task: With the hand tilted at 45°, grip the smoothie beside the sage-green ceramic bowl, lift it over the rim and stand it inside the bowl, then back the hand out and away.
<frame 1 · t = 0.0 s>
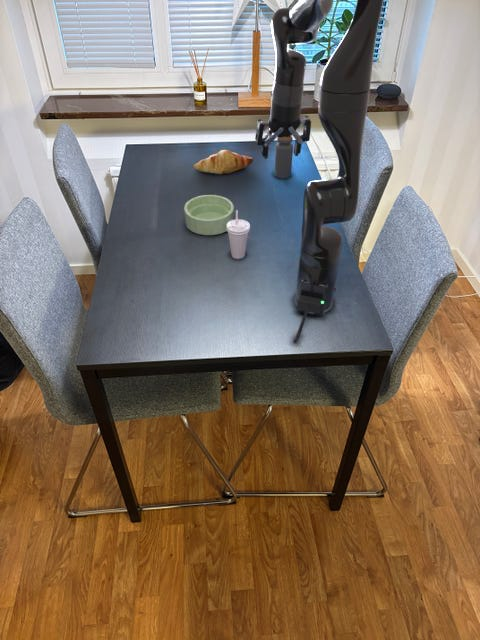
hand: (280, 155, 138), 22 cm above the table, tool pointing down, fingers open, 8 cm apart
bowl: (209, 223, 154), on the table
smoothie: (238, 255, 142), on the table
croissant: (223, 169, 180), on the table
bottle: (282, 175, 177), on the table
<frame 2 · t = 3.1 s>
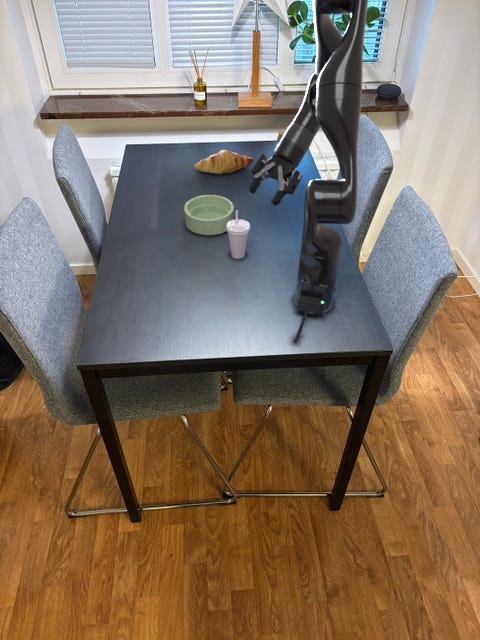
hand: (262, 198, 137), 14 cm above the table, tool tilted 45°, fingers open, 8 cm apart
nothing on the table moved.
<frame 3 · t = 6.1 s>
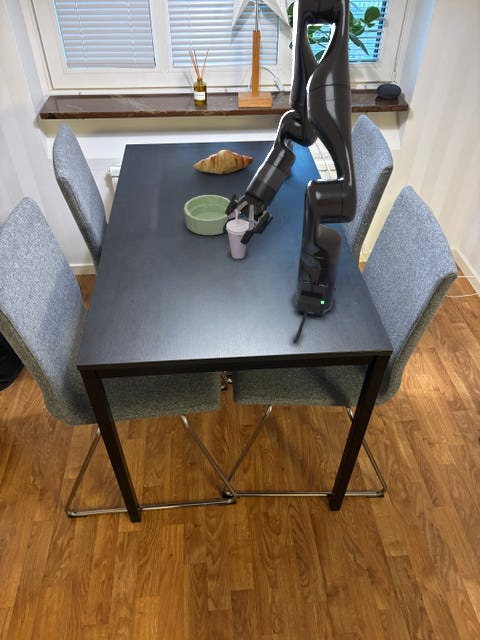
hand: (233, 238, 137), 6 cm above the table, tool tilted 45°, fingers closed on smoothie, 6 cm apart
smoothie: (238, 255, 142), on the table, touching gripper
everything else where it was.
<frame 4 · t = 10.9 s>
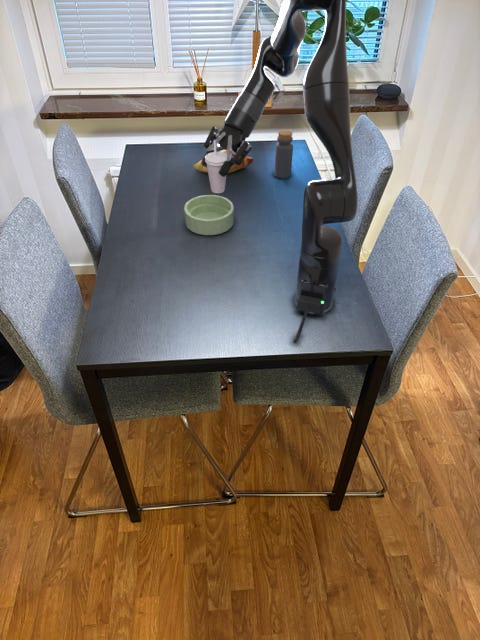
hand: (212, 170, 136), 20 cm above the table, tool tilted 45°, fingers closed on smoothie, 6 cm apart
smoothie: (218, 190, 141), point 14 cm above the table, touching gripper
everything else where it was.
when the fingers open (7 cm above the table, at t = 15.9 s): smoothie stays where it is, resting on bowl.
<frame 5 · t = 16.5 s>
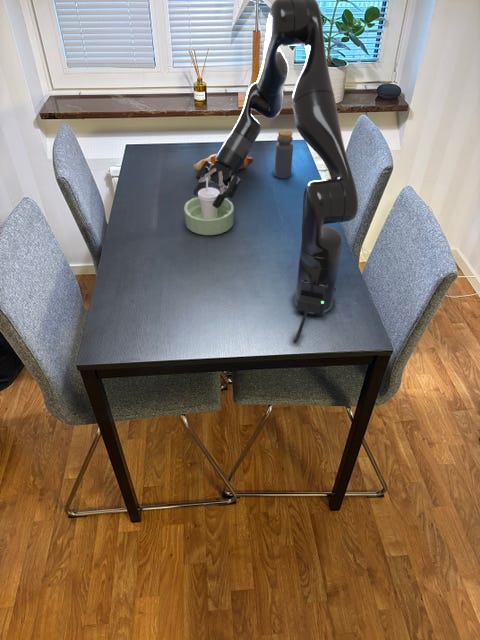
hand: (205, 201, 148), 8 cm above the table, tool tilted 45°, fingers open, 8 cm apart
smoothie: (210, 221, 154), resting on bowl
everything else where it was.
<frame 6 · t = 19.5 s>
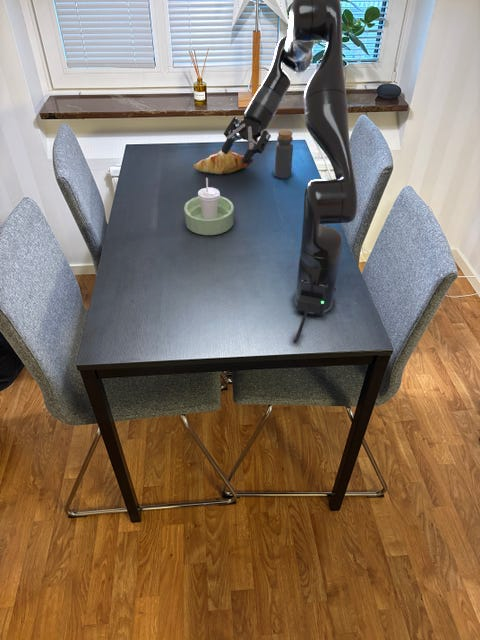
hand: (233, 157, 147), 18 cm above the table, tool tilted 45°, fingers open, 8 cm apart
nothing on the table moved.
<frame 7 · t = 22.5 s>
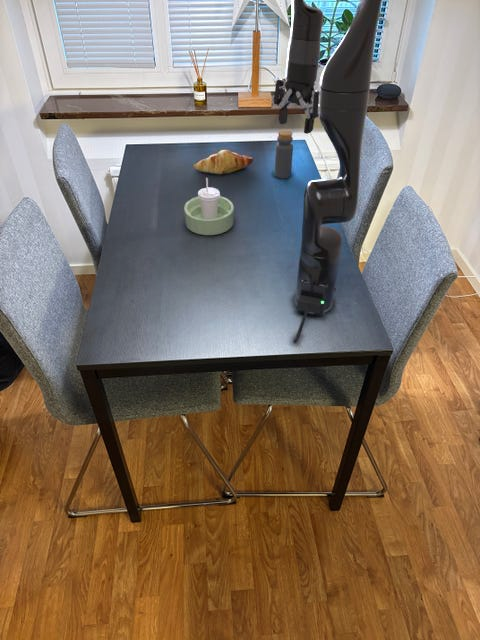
hand: (295, 128, 131), 31 cm above the table, tool pointing down, fingers open, 8 cm apart
nothing on the table moved.
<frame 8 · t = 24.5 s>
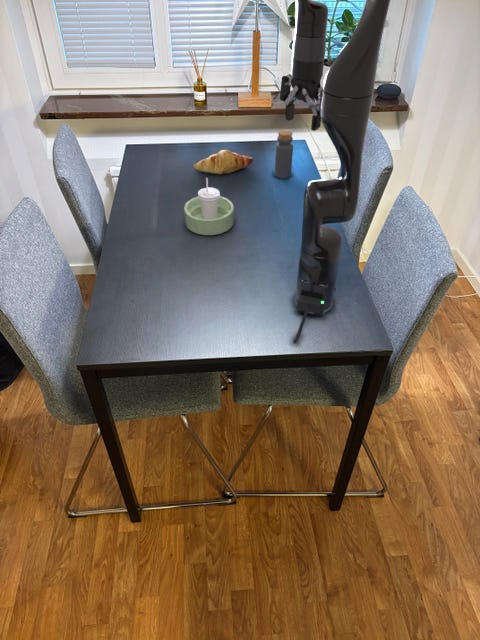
hand: (302, 124, 129), 32 cm above the table, tool pointing down, fingers open, 8 cm apart
nothing on the table moved.
at the end: smoothie inside the target area in the bowl (0.2 cm from its centre), point 0.4 cm above the bowl's base; smoothie tilted 0°; the gripper is holding nothing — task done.
